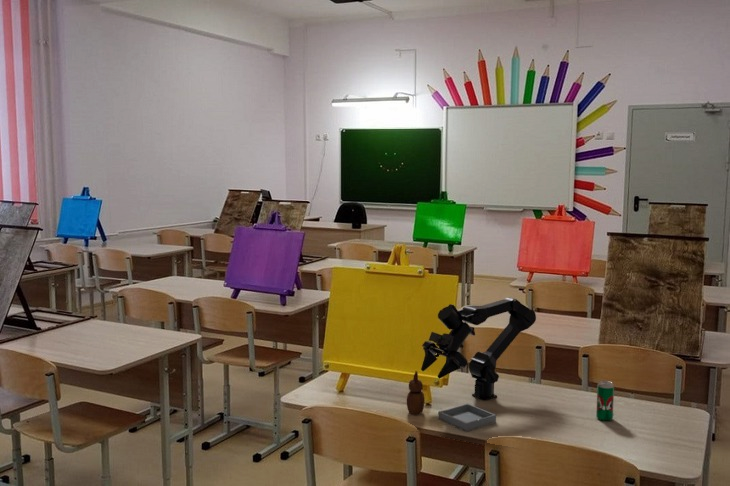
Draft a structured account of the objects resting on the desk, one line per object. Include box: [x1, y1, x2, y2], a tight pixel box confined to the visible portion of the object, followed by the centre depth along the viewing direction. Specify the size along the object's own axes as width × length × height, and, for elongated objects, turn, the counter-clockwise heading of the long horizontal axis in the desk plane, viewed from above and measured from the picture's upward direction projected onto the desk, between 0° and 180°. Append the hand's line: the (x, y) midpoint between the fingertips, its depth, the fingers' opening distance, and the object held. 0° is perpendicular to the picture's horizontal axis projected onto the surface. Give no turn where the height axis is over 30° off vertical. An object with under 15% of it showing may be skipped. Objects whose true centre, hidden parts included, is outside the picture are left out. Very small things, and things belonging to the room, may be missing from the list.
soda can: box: [595, 380, 615, 422], centre depth 217 cm, size 5×5×12 cm
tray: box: [437, 403, 497, 433], centre depth 217 cm, size 13×13×2 cm
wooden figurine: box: [406, 370, 425, 416], centre depth 223 cm, size 7×6×15 cm
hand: (430, 374), depth 226 cm, fingers open, 9 cm apart
